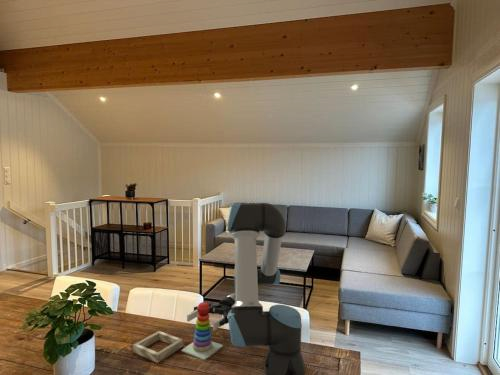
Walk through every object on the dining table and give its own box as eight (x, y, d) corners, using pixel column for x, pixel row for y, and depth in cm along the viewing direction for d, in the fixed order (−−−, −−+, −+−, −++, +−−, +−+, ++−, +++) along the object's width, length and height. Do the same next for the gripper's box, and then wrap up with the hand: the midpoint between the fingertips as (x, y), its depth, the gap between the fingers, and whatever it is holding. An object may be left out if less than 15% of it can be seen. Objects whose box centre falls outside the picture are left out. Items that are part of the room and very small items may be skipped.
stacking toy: (208, 353, 137) (208, 307, 136) (189, 351, 138) (189, 306, 137) (214, 343, 145) (214, 300, 143) (196, 341, 146) (196, 298, 145)
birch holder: (182, 346, 143) (182, 339, 143) (157, 362, 131) (157, 355, 131) (159, 337, 150) (158, 330, 150) (132, 352, 139) (132, 344, 138)
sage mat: (222, 346, 143) (222, 345, 143) (204, 360, 133) (204, 358, 133) (200, 338, 150) (200, 337, 150) (181, 351, 140) (181, 349, 139)
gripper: (253, 318, 152) (225, 339, 134) (208, 306, 165) (177, 323, 147) (253, 302, 151) (225, 321, 133) (208, 290, 164) (177, 306, 146)
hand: (200, 322), depth 140 cm, fingers open, 13 cm apart
